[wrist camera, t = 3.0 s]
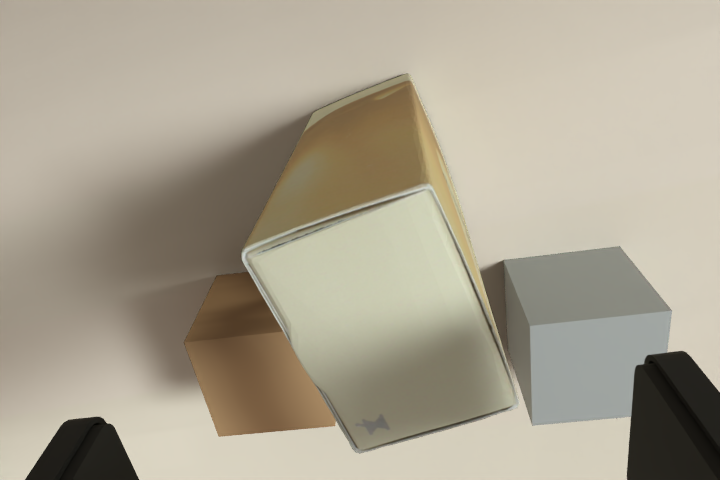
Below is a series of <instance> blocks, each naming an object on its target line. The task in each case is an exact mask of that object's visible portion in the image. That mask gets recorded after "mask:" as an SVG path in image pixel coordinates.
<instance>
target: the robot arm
mask: <svg viewBox="0 0 720 480" xmlns="http://www.w3.org/2000/svg"><path fill="white" fill-rule="evenodd" d="M25 480H139V479H138V476H137V474H136V472H135V470H134V468H133V466H132V464H131V462H130V459H129V457H128V455H127V453H126V451H125V449H124V447H123V445H122V442H121V440H120V438H119V436H118V434H117V432H116V430H115V428H114V426H113V425H111V424H107V423H106V422H105V420H104V419H103V418H101V417H90V418H81V419H72V420H68V421H66V422H64V423H63V424H62V425H61V427H60V428H59V430H58V431H57V433H56V434H55V436H54V437H53V439H52V440H51V442H50V443H49V445H48V446H47V448H46V449H45V451H44V452H43V454H42V455H41V457H40V458H39V460H38V461H37V463H36V464H35V466H34V467H33V469H32V470H31V472H30V473H29V475H28V476H27V478H26V479H25ZM627 480H720V392H719V391H718V390H717V389H716V387H715V386H714V385H713V384H712V383H711V381H710V380H709V379H708V378H707V376H706V375H705V374H704V373H703V371H702V370H701V369H700V368H699V367H698V365H697V364H696V363H695V362H694V360H693V359H692V358H691V357H690V356H689V355H688V354H687V353H686V352H684V351H678V352H669V353H660V354H651V355H647V356H646V358H645V361H644V364H641V365H637V366H636V367H635V371H634V385H633V399H632V412H631V426H630V440H629V454H628V467H627Z"/></svg>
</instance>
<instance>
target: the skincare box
mask: <svg viewBox="0 0 720 480" xmlns="http://www.w3.org/2000/svg"><path fill="white" fill-rule="evenodd" d="M241 259H242V262H243V264H244V265H245V267H246V268H247V270H248V272H249V274H250V275H251V277H252V279H253V280H254V282H255V284H256V286H257V287H258V289H259V291H260V293H261V295H262V296H263V298H264V300H265V301H266V303H267V305H268V306H269V308H270V310H271V311H272V313H273V315H274V317H275V318H276V320H277V322H278V323H279V325H280V327H281V328H282V330H283V332H284V334H285V336H286V338H287V339H288V341H289V343H290V345H291V347H292V348H293V350H294V352H295V354H296V356H297V358H298V359H299V361H300V363H301V365H302V367H303V368H304V370H305V371H306V372H307V374H308V375H309V377H310V378H311V380H312V381H313V383H314V384H315V386H316V387H317V389H318V391H319V393H320V394H321V396H322V398H323V400H324V401H325V403H326V405H327V406H328V408H329V410H330V411H331V413H332V414H333V416H334V418H335V420H336V421H337V423H338V425H339V427H340V428H341V430H342V431H343V433H344V435H345V436H346V438H347V440H348V441H349V443H350V445H351V447H352V449H353V450H354V451H355V452H356V453H364V452H368V451H372V450H375V449H378V448H381V447H384V446H389V445H393V444H397V443H400V442H404V441H408V440H411V439H415V438H419V437H422V436H426V435H429V434H433V433H436V432H440V431H444V430H448V429H451V428H454V427H458V426H461V425H465V424H468V423H472V422H475V421H478V420H482V419H485V418H488V417H490V416H493V415H497V414H499V413H502V412H506V411H510V410H513V409H516V408H517V407H518V405H519V398H518V395H517V391H516V388H515V385H514V381H513V378H512V375H511V372H510V368H509V365H508V362H507V359H506V356H505V353H504V350H503V347H502V344H501V340H500V337H499V334H498V331H497V327H496V324H495V321H494V318H493V314H492V311H491V308H490V305H489V301H488V298H487V295H486V291H485V288H484V284H483V281H482V278H481V274H480V271H479V268H478V264H477V261H476V257H475V254H474V251H473V248H472V244H471V241H470V237H469V234H468V230H467V227H466V223H465V220H464V216H463V212H462V209H461V206H460V203H459V200H458V197H457V194H456V191H455V188H454V185H453V182H452V179H451V176H450V173H449V170H448V167H447V164H446V162H445V159H444V156H443V153H442V151H441V148H440V145H439V143H438V140H437V137H436V135H435V132H434V130H433V127H432V125H431V123H430V120H429V118H428V115H427V113H426V111H425V108H424V106H423V104H422V101H421V99H420V96H419V94H418V92H417V89H416V87H415V85H414V82H413V79H412V77H411V75H410V74H404V75H401V76H399V77H396V78H394V79H391V80H388V81H386V82H383V83H381V84H378V85H376V86H373V87H371V88H368V89H366V90H363V91H361V92H358V93H356V94H353V95H351V96H349V97H346V98H344V99H342V100H339V101H337V102H335V103H332V104H330V105H328V106H325V107H323V108H321V109H319V110H317V111H315V112H314V113H313V114H312V116H311V118H310V120H309V122H308V124H307V126H306V128H305V130H304V132H303V133H302V135H301V137H300V139H299V141H298V143H297V145H296V147H295V149H294V151H293V153H292V155H291V157H290V159H289V161H288V162H287V164H286V166H285V168H284V170H283V172H282V174H281V176H280V178H279V180H278V182H277V184H276V186H275V188H274V190H273V192H272V194H271V196H270V197H269V199H268V201H267V203H266V205H265V207H264V209H263V211H262V213H261V215H260V217H259V218H258V220H257V222H256V224H255V226H254V228H253V230H252V232H251V234H250V236H249V238H248V239H247V241H246V243H245V245H244V247H243V249H242V251H241Z"/></svg>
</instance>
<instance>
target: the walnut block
mask: <svg viewBox="0 0 720 480" xmlns="http://www.w3.org/2000/svg"><path fill="white" fill-rule="evenodd" d="M184 344H185V347H186V350H187V352H188V355H189V358H190V360H191V363H192V366H193V368H194V371H195V374H196V377H197V379H198V382H199V385H200V387H201V390H202V393H203V395H204V398H205V401H206V404H207V406H208V409H209V412H210V414H211V417H212V420H213V423H214V425H215V428H216V431H217V433H218V436H219V437H220V436H231V435H242V434H253V433H264V432H275V431H285V430H296V429H307V428H318V427H329V426H335V422H336V420H335V418H334V416H333V414H332V413H331V411H330V410H329V408H328V406H327V405H326V403H325V401H324V400H323V398H322V396H321V394H320V393H319V391H318V389H317V387H316V386H315V384H314V383H313V381H312V380H311V378H310V377H309V375H308V374H307V372H306V371H305V370H304V368H303V367H302V365H301V363H300V361H299V359H298V358H297V356H296V354H295V352H294V350H293V348H292V347H291V345H290V343H289V341H288V339H287V338H286V336H285V334H284V332H283V330H282V328H281V327H280V325H279V323H278V322H277V320H276V318H275V317H274V315H273V313H272V311H271V310H270V308H269V306H268V305H267V303H266V301H265V300H264V298H263V296H262V295H261V293H260V291H259V289H258V287H257V286H256V284H255V282H254V280H253V279H252V277H251V275H250V274H249V272H242V273H234V274H226V275H217V276H216V278H215V280H214V282H213V284H212V286H211V288H210V290H209V292H208V295H207V297H206V299H205V301H204V303H203V305H202V307H201V309H200V311H199V313H198V315H197V317H196V319H195V321H194V323H193V325H192V327H191V329H190V331H189V333H188V335H187V337H186V339H185V341H184Z"/></svg>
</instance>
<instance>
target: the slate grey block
mask: <svg viewBox="0 0 720 480" xmlns="http://www.w3.org/2000/svg"><path fill="white" fill-rule="evenodd" d="M504 279H505V300H506V322H507V343H508V351H509V354H510V358H511V361H512V364H513V367H514V370H515V373H516V376H517V379H518V382H519V386H520V389H521V392H522V395H523V398H524V401H525V404H526V407H527V410H528V414H529V417H530V420H531V423H532V426H533V425H544V424H555V423H566V422H577V421H588V420H599V419H610V418H621V417H631V412H632V399H633V385H634V371H635V367H636V366H637V365H641V364H644V361H645V358H646V356H647V355H651V354H660V353H667V349H668V340H669V332H670V323H671V314H672V310H671V309H670V308H669V307H668V305H667V304H666V303H665V302H664V300H663V299H662V298H661V297H660V295H659V294H658V293H657V292H656V291H655V289H654V288H653V287H652V286H651V284H650V283H649V282H648V281H647V279H646V278H645V277H644V276H643V275H642V273H641V272H640V271H639V270H638V268H637V267H636V266H635V265H634V263H633V262H632V261H631V260H630V258H629V257H628V256H627V255H626V254H625V252H624V251H623V250H622V249H621V247H620V246H619V247H610V248H602V249H593V250H585V251H577V252H568V253H560V254H551V255H543V256H535V257H526V258H518V259H509V260H504Z"/></svg>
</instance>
